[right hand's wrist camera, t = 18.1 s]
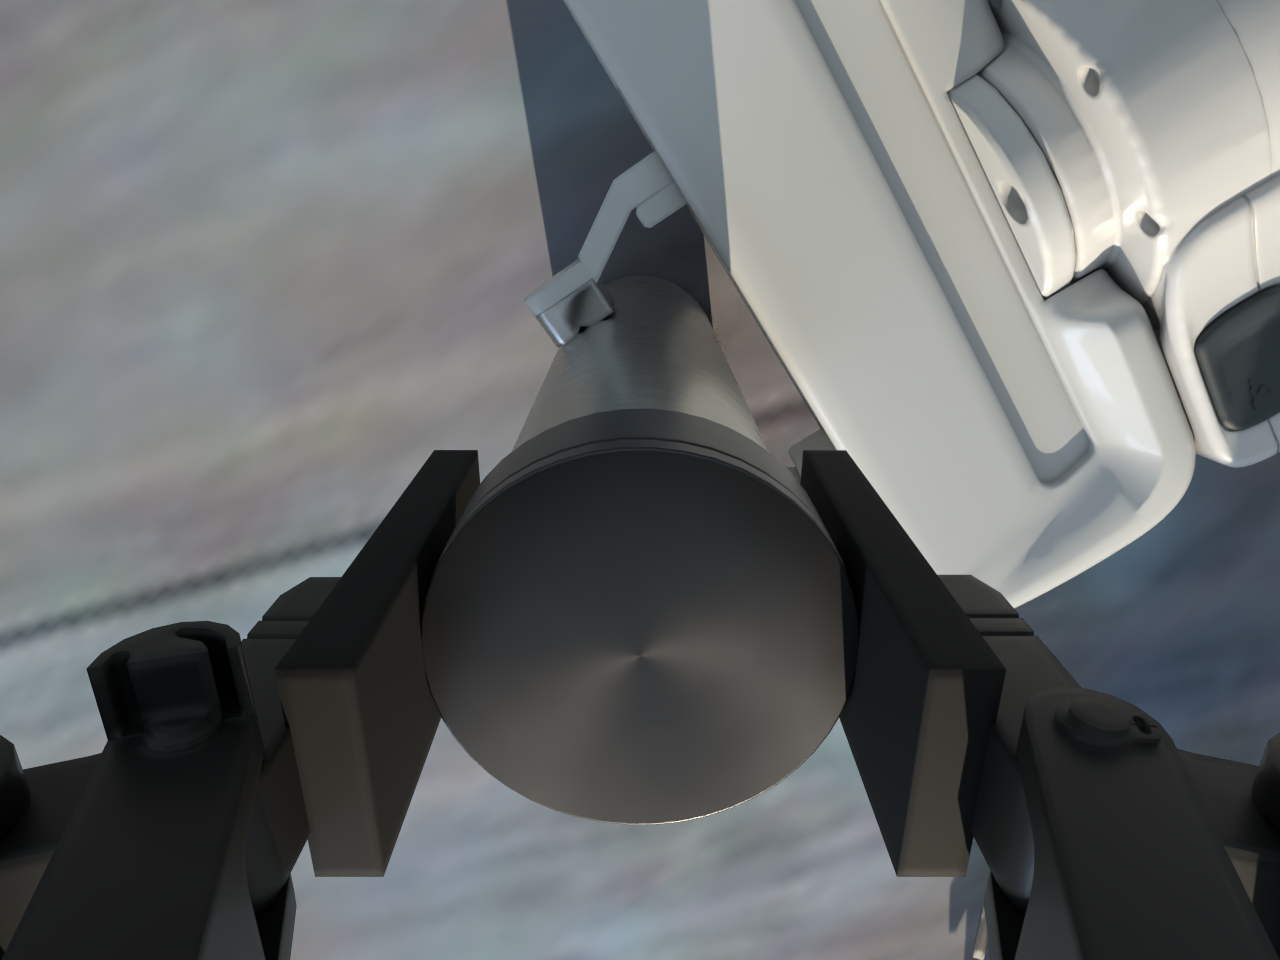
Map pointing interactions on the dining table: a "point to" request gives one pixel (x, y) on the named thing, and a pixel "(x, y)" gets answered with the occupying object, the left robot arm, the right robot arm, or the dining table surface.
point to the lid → (640, 620)
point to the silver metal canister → (643, 363)
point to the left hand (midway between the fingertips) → (613, 423)
